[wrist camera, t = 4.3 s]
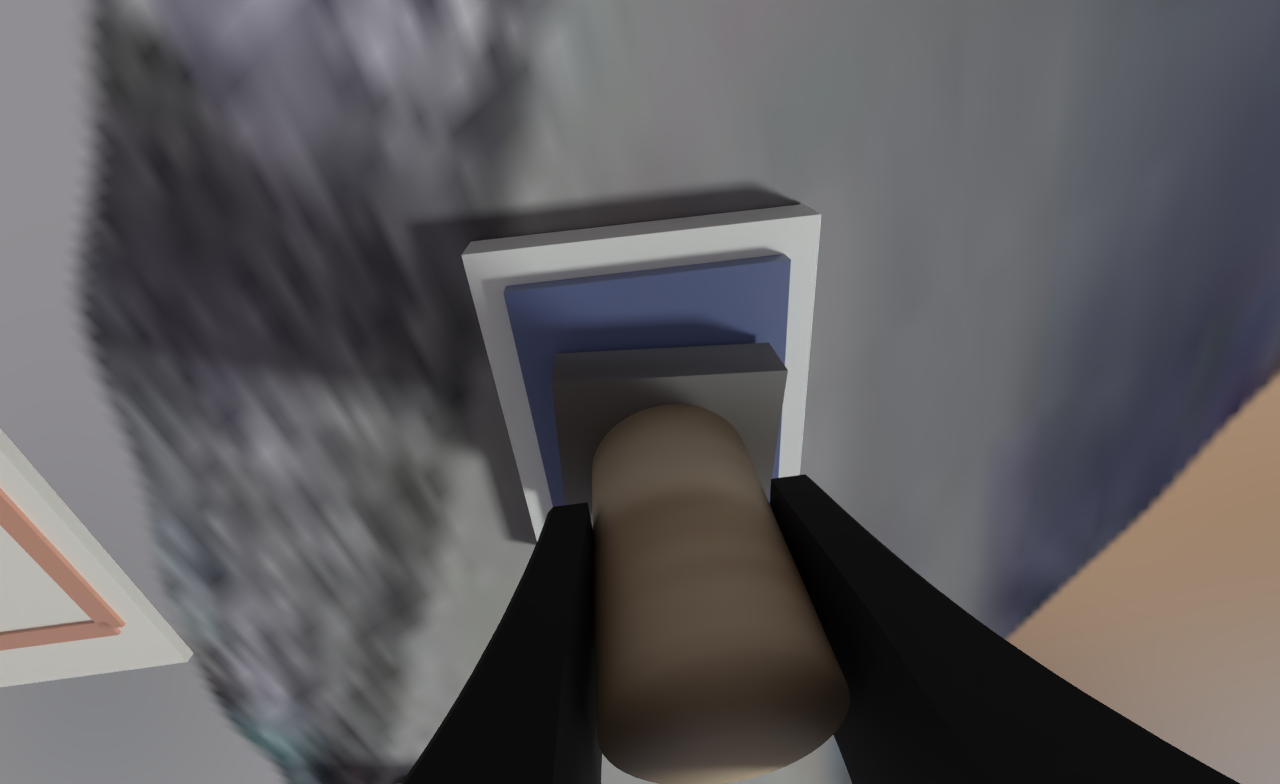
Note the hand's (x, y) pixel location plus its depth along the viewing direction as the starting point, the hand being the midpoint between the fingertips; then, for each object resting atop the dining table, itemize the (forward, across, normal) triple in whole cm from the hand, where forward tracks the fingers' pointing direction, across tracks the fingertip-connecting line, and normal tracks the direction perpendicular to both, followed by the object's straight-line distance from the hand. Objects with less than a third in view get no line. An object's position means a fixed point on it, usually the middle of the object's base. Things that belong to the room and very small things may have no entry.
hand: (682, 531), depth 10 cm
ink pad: (+4, 0, 0) cm, 4 cm away
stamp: (+3, 0, 0) cm, 3 cm away
